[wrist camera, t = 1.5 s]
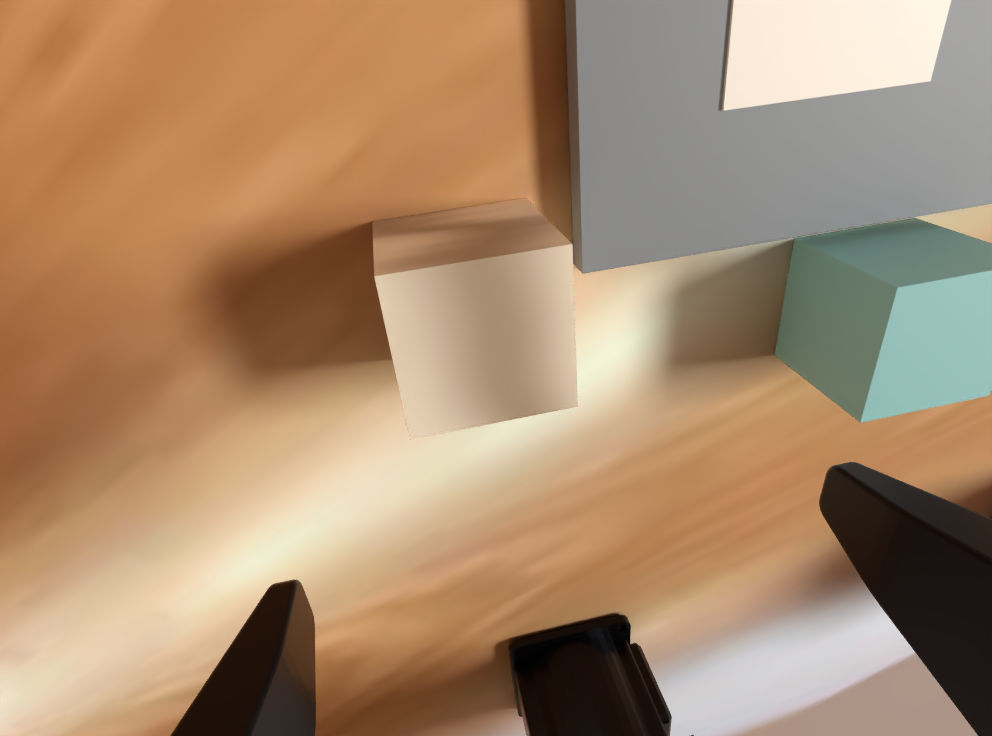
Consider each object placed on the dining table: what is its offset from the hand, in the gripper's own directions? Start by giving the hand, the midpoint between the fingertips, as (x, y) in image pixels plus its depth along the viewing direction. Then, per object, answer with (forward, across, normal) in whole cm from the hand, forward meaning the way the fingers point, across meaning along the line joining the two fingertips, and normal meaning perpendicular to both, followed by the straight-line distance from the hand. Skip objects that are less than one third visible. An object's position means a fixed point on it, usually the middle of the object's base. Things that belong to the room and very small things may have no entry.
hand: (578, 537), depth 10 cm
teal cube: (+12, -15, +3) cm, 19 cm away
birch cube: (+12, 0, 0) cm, 12 cm away
